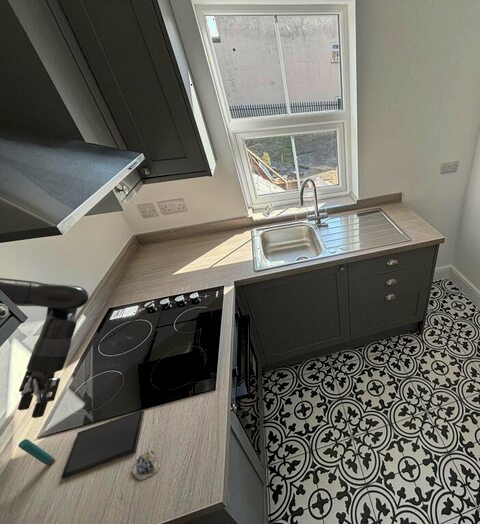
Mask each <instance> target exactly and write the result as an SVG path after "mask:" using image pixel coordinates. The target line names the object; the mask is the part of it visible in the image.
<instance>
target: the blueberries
mask: <svg viewBox="0 0 480 524" xmlns="http://www.w3.org/2000/svg"><path fill="white" fill-rule="evenodd" d="M156 459H157V457H156V454H155V452H154V451H153V450H148V451H147V452H146V453H143V454H142V453H141V454H140V455H139V456H138V458H136V460H135V463H133V464H132V465H131V471H132V474H133V476H134V477H135V478H136V479H138V480H140V481H142V480H145V479H147V478H149V477H152V476H155V475H156V474H157V473H158V472H159V469H160V468H161V463H160V462H159V460H156Z"/></svg>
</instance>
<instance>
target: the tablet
mask: <svg viewBox="0 0 480 524" xmlns="http://www.w3.org/2000/svg"><path fill="white" fill-rule="evenodd" d="M144 415H145V411H144V410H139V411H137V412H133V413H130V414H128V415H125V416H121V417H118V418H115V419H113V420H110V421H107V422H104V423H101V424H98V425H95V426H93V427H90V428H86V429H84V430H81V431H78V432H77V433H76V437H75V439H74V442H73V445H72V447H71V450H70V452H69V455H68V457H67V461H66V464H65V467H64V468H63V471H62V474H61V477H60V478H61V479H63V480H65V479H67V478H70V477H72V476H75V475H78V474H80V473H83V472H85V471H88V470H91V469H94V468H96V467H99V466H102V465H104V464H108V463H110V462H112V461H115V460H118V459H121V458H124V457H125V456H126V457H127V456H129V455H132V454H135V453H137V451H138V450H137V449H138V444H139V441H140V434H141V430H142V424H143V421H144V420H143V419H144Z"/></svg>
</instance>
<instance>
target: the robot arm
mask: <svg viewBox="0 0 480 524" xmlns="http://www.w3.org/2000/svg"><path fill="white" fill-rule="evenodd" d="M0 290H1V291H2V292H3V293H4V294H5V295H6V296H7V297H8V298H9V299H10V300H11V301H12V302H13V303H14V304H15V305H16V306H15V307H40V308H41V307H42V308H47V310H46V316H45V321H44V323H43V325H42V327H41V330H40V333H39V336H38V338H37V339H36V341H35V344H34V346H33V349H32V352H31V355H30V356H29V357H30V358H29V360H28V363H27V366H26V371H25V374H24V377H23V378H22V381H21V384H20V387H19V389H18V392H19V393H20V396H21V397H20V401H19V404H18V406H17V410H18V411H27V410H28V409H30V407H31V404H32V401H33V398H34V396H36V403H35V405H34V408H33V411H32V414H31V418H32V419H37V418H42V417H43V416H44V414H45V413H46V408H47V405H48V403H50V402H53V401H55V398H56V395H57V392H58V390H59V385H60V382H61V377H55V374H56V372H61V371H62V370H64V367H65V364H66V361H67V358H68V355H69V352H70V349H71V346H72V340H73V336H74V334H75V330H76V327H77V319H76V315H77V312H78V309H79V308H81V307H83V306H85V305H86V304H87V303H88V301H89V296H90V295H89V293H88V291H87V290H86V289H85V288H84V287H82V286H79V285H72V284H57V283H56V284H55V283H45V282H44V283H43V282H39V281H33V280H23V279H13V278H3V277H0Z"/></svg>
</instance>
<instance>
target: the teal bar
mask: <svg viewBox="0 0 480 524" xmlns="http://www.w3.org/2000/svg"><path fill="white" fill-rule="evenodd" d="M17 447H18V448H20V449H21V450H23V452H25V453H27V454H28V455H30V456H31V457H33V458H34V459H36V460H38V461H39V462H40V463H42V464H44V465H45V466H48V467H50V466H52V465H53V464H54V463H55V462H56V459H55V458H54V457H53V455H51V454H50V453H48V452H46V451H45V450H44V449H42V448H41V447H39V446H38V445H37V444H35V443H33V442H32V441H31V440H29V439H28V438H26V439H25V438H24V439H23V440H21V441H20V442H19V443H18V445H17Z"/></svg>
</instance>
